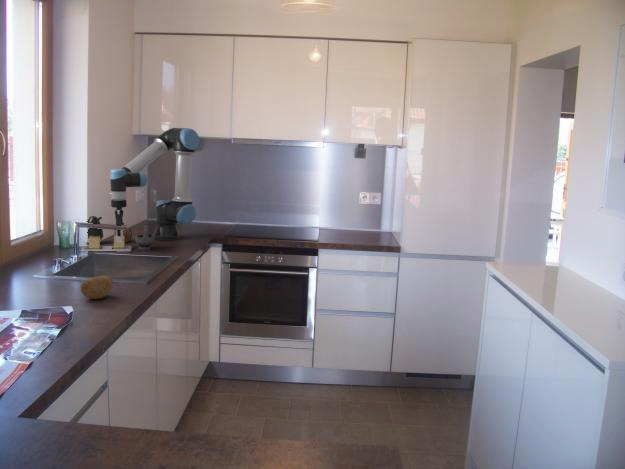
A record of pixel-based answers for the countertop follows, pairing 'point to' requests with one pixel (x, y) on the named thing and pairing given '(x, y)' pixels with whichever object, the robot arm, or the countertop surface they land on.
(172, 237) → the robot arm
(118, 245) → the nut block
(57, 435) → the countertop surface
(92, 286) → the potato
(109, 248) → the rack rail
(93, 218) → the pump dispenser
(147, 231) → the mortar and pestle
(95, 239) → the pale yellow block
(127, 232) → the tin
